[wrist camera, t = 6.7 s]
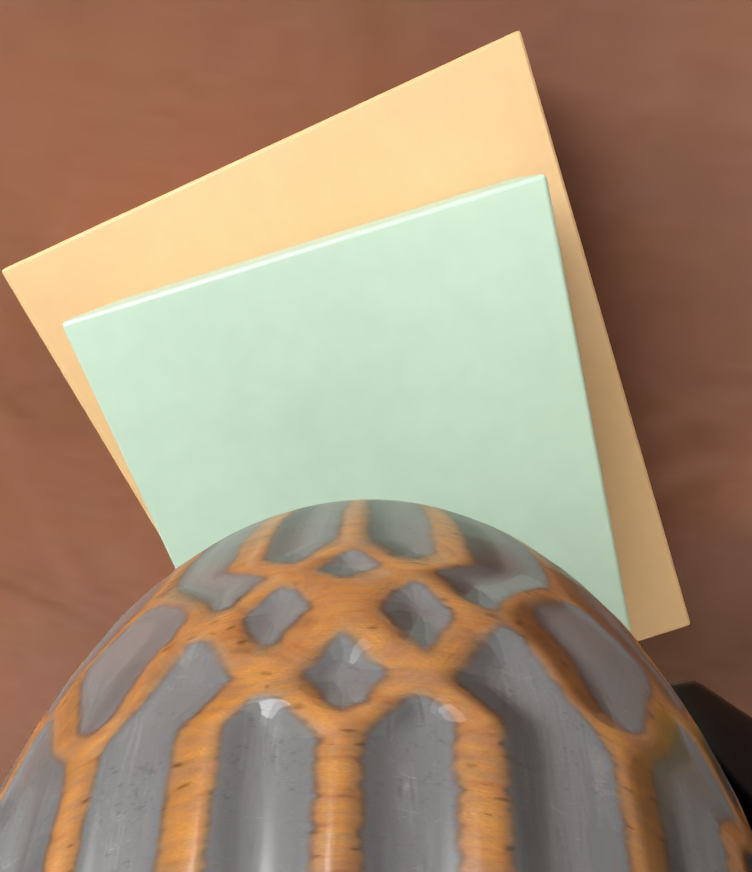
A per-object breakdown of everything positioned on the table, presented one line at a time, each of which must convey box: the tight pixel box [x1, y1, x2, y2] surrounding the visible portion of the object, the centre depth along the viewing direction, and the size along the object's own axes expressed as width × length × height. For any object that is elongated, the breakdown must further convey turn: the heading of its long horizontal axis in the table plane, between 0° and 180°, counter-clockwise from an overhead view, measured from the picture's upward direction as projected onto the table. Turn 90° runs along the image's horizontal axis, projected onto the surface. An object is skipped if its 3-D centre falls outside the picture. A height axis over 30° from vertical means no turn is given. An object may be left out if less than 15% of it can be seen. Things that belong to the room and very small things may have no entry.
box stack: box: [2, 31, 690, 641], centre depth 16 cm, size 15×12×6 cm
